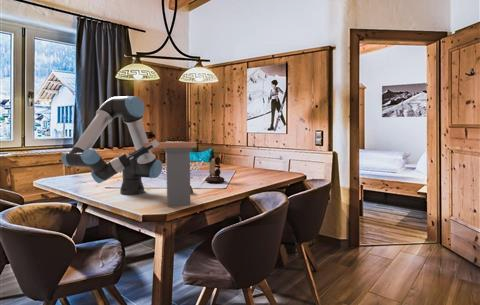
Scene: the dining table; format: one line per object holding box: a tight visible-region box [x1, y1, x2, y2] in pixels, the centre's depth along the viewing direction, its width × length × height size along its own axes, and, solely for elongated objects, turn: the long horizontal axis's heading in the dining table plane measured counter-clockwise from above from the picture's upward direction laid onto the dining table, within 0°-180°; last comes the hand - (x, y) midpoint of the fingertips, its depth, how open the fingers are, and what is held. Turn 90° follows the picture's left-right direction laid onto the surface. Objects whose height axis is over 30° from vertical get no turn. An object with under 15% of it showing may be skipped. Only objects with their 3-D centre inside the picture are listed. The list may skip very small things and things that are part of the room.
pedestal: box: [163, 148, 193, 208], centre depth 176 cm, size 12×14×32 cm
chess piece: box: [205, 155, 225, 184], centre depth 242 cm, size 15×15×20 cm
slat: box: [144, 141, 197, 149], centre depth 173 cm, size 4×28×3 cm, turn 107°
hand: (157, 141), depth 171 cm, fingers open, 11 cm apart
